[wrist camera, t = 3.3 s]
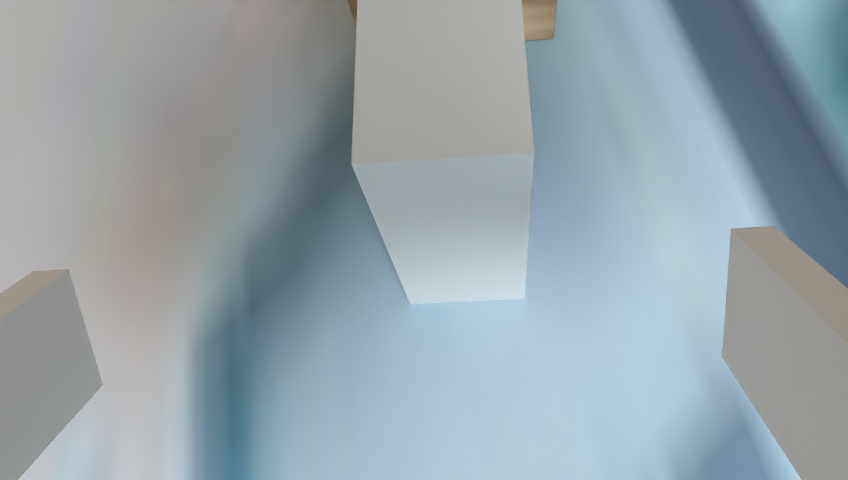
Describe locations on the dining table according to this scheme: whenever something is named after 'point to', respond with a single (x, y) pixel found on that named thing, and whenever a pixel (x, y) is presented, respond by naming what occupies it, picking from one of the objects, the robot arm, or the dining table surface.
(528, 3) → the sleeve box
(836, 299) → the robot arm
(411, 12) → the light grey rectangular block
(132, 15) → the dining table surface
